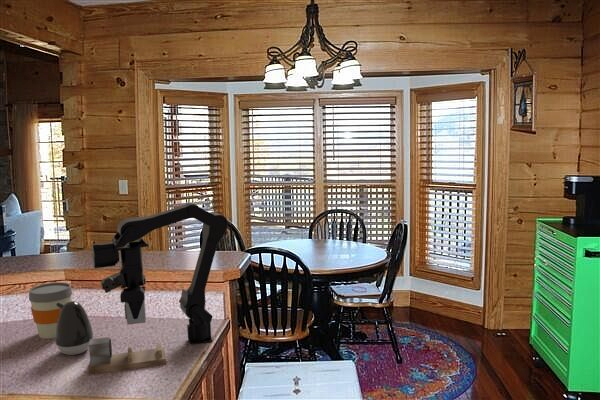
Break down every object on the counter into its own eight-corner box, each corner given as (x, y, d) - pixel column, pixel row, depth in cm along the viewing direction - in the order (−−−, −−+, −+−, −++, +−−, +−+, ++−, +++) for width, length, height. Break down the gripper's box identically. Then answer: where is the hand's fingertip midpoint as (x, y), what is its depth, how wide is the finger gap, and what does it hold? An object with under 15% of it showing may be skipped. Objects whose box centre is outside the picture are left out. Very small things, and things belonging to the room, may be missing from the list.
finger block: (145, 317, 158) (144, 298, 157) (145, 322, 154) (144, 302, 153) (126, 320, 156) (125, 300, 156) (125, 324, 153) (124, 304, 152)
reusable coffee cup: (83, 330, 175) (79, 285, 173) (47, 343, 164) (43, 296, 162) (60, 323, 182) (56, 280, 180) (24, 336, 171) (19, 290, 169)
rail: (164, 352, 156) (162, 327, 155) (166, 363, 148) (164, 337, 147) (90, 362, 150) (88, 337, 149) (88, 375, 143) (86, 348, 142)
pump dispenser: (73, 342, 165) (69, 294, 163) (101, 346, 161) (97, 297, 159) (48, 356, 155) (43, 305, 153) (77, 360, 152) (72, 308, 150)
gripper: (104, 258, 160) (109, 309, 162) (98, 274, 142) (103, 331, 144) (143, 255, 162) (147, 304, 165) (142, 270, 145) (146, 326, 147)
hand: (135, 316), depth 155 cm, fingers closed on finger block, 4 cm apart
